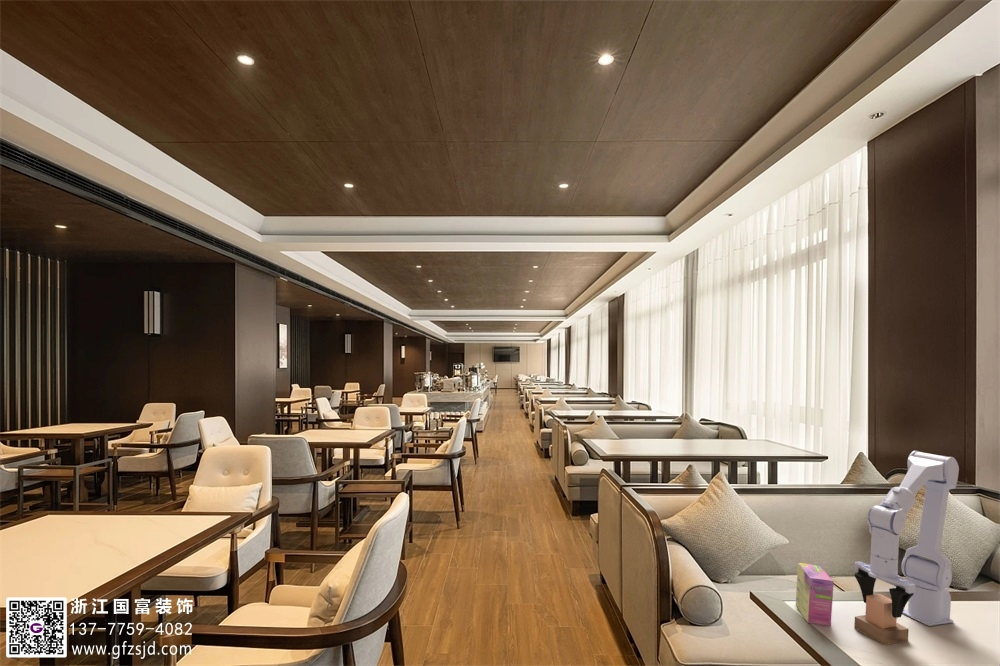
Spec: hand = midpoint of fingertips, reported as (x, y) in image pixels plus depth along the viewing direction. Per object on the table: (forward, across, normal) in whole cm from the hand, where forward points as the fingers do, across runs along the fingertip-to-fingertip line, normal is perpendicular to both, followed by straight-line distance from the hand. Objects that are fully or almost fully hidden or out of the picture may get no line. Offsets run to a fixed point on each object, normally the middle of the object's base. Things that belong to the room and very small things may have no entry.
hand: (882, 609), depth 143 cm
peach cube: (+3, 0, 0) cm, 3 cm away
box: (+6, -12, -9) cm, 16 cm away
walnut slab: (+6, 0, 0) cm, 6 cm away
